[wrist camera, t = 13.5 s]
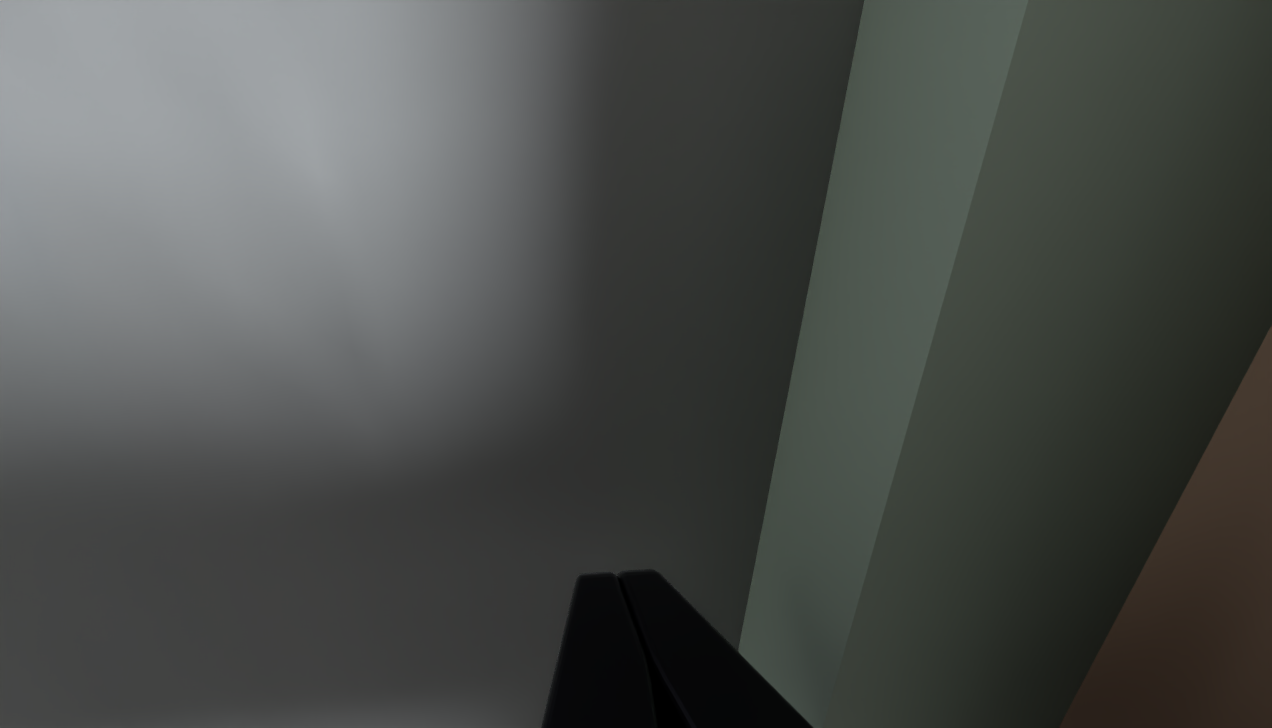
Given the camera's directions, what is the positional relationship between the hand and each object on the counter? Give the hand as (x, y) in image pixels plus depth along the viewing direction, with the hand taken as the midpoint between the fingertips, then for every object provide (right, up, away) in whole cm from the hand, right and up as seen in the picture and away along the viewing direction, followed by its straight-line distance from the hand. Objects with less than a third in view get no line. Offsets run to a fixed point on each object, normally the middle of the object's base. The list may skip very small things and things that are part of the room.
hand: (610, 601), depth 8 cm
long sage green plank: (+4, +1, +2) cm, 5 cm away
